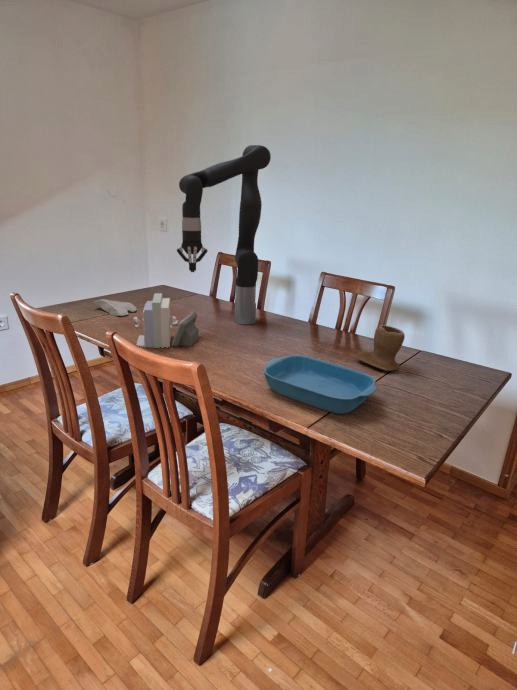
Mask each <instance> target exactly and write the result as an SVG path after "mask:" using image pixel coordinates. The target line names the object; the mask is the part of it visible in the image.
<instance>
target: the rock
mask: <svg viewBox="0 0 517 690" xmlns="http://www.w3.org/2000/svg"><path fill="white" fill-rule="evenodd" d="M93 303H94V305H96V306H97V307H99V308H100V309H102V310H103V311H105V312H107V313H109V315H111V316H115V317H124V316H128V315H129V312H131V313H134V312H136V311H137V306H135V304H132V302H126V301H125V302H124V301H119V300H109V299H105V298H104V299H103V298H102V299H96V300H94V301H93Z"/></svg>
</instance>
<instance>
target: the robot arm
mask: <svg viewBox="0 0 517 690" xmlns="http://www.w3.org/2000/svg"><path fill="white" fill-rule="evenodd" d="M270 162H271V152H270V149H268V147H266V146H265V145H259V144H255V145H254V144H251V145H248V146H246V147H245V148H244V150H243V151H242V156H240V157H237V158H233V159H230V160H226V161H223V162H219V163H216V164H214V165H211V166H208V167H206V168H204V169H201V170H200V171H199V170H198V171H196V172H192V173H189V174H187V175H184V176H182V177H181V179H180V180H179V182H178V183H179V184H178V187H179V190H180V191H181V192H182V193H183V194H185V201H183V203H182V207H181V209H182V211H181V212H182V215H181V216H182V220H181V222H182V223H181V230H182V231H181V233H182V235H181V236H182V238H181V239H182V243H181V244H180V245H181V246H179V247H178V248H177V249H176V253H178V255H179V256H180V257H181V259H182V260H183V261H184V262H186V263H188V270H189V271H190V273H195V272H196V271H197V263H200V262H201V261H202V259H203V258H204V257H205V255H207V253H208V248H205V247H204V245H203V243H202V220H201V204H202V198H203V191H204V189H205V188H211V187H215V186H216V185H219V184H221V183H224V182H226V181H228V180H230V179H233V178H235V177H237V176H238V177H239V176H240V175H241V190H240V203H239V214H238V215H239V216H238V236H237V237H238V238H237V245H236V248H235V249H236V250H235V255H234V262H235V264H236V266H237V271H236V272H237V275H236V278H235V290H234V291H235V293H234V294H235V297H234V299H235V300H234V301H235V302H234V322H235V324H238V325H252V324H256V316H257V313H256V312H257V302H256V296H257V295H256V294H257V293H256V291H257V281H258V276H259V257H258V255H257V253H256V252H255V238H256V234H257V230H258V227H259V224H260V221H261V216H262V207H263V203H262V198H261V193H260V189H259V185H258V179H259V178H258V177H259V170H263V169H265V168H267V166H269V165H270ZM183 250H184V251H183ZM200 251H201V253H200ZM183 252H184V253H186V255H187V256H188V257H186V255H185V254H184V253H183ZM199 253H200V255H198V254H199ZM197 255H198V257H197Z"/></svg>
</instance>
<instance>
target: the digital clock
mask: <svg viewBox="0 0 517 690" xmlns="http://www.w3.org/2000/svg"><path fill="white" fill-rule="evenodd" d="M197 318H198V313H197V312H196V311H194V312H193V311H192V312H190V313H189V314H188V315H187V316H185V317H184V318H183V319H182V320H180V321H178V324H177V328H176V331H175V333H174V337H173V339H172V342H171V345H172V347H174V348H175V347H177V348H178V347H179V346H185V345H186V346H187V347H192V346H193V345H194V344H195V343H196V342H197V341H199V328H197V326H196V325H195V323H196V322H197V321H196V320H197Z"/></svg>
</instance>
